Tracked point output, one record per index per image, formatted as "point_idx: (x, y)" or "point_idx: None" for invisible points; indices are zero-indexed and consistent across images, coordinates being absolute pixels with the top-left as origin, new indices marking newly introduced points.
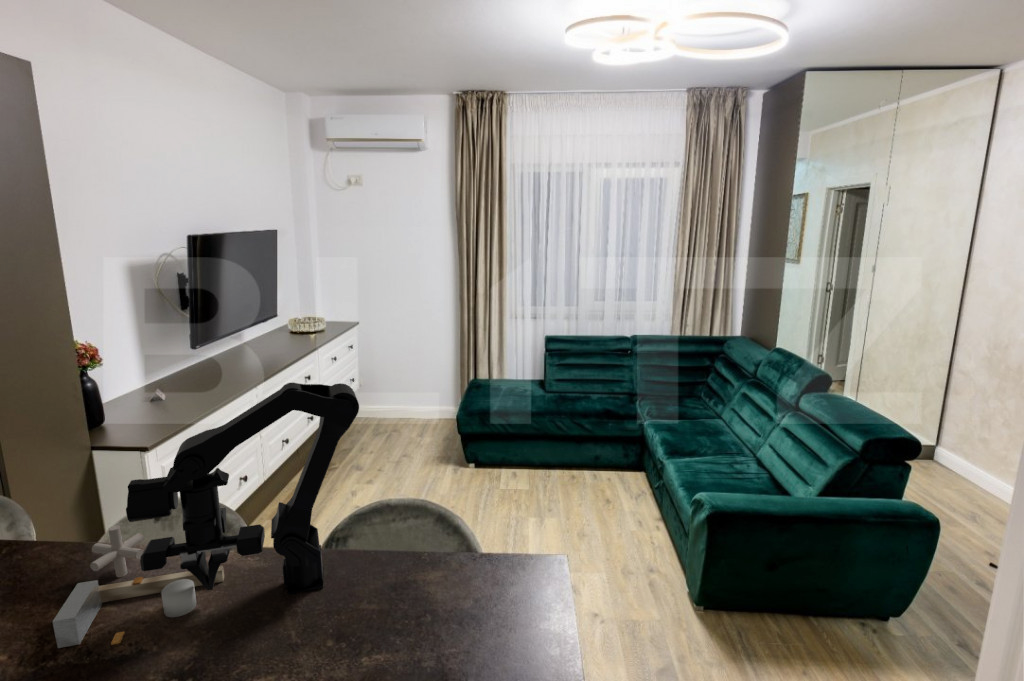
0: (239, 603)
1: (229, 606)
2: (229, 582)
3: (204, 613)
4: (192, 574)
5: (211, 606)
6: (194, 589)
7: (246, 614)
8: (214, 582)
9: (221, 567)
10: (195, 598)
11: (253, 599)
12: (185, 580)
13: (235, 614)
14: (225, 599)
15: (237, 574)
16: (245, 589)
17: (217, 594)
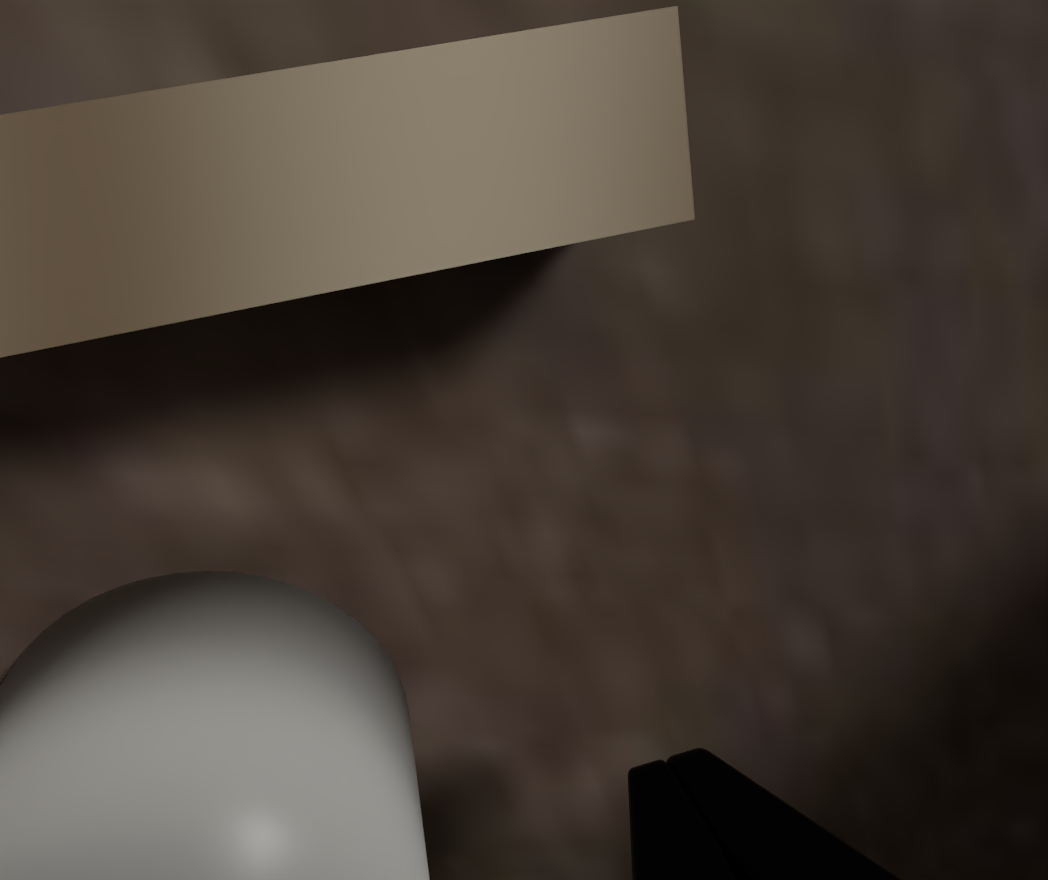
0: (906, 669)
1: (811, 714)
2: (711, 232)
3: (571, 821)
4: (60, 310)
5: (611, 718)
6: (422, 868)
7: (986, 811)
8: (756, 794)
9: (659, 86)
10: (413, 760)
11: (1040, 608)
12: (167, 874)
13: (889, 817)
14: (742, 603)
15: (791, 4)
16: (946, 423)
17: (614, 505)
